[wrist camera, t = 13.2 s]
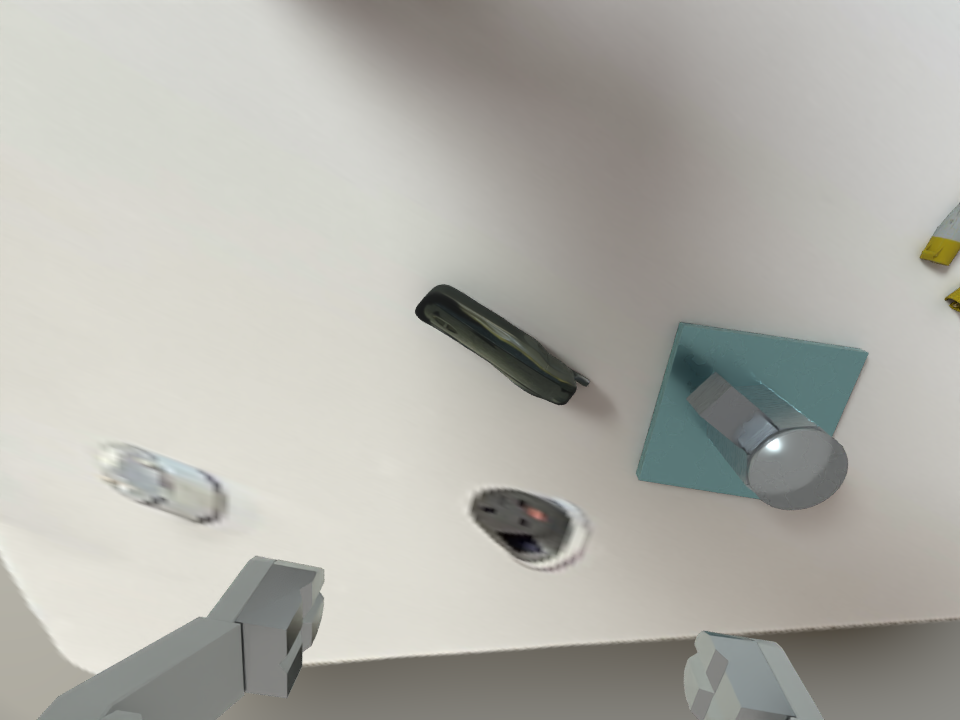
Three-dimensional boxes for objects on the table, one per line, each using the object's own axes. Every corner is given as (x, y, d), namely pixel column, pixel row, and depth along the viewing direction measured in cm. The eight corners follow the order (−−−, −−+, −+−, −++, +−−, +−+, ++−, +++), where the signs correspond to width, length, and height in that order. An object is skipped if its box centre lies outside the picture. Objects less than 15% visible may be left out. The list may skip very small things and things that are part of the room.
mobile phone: (406, 320, 34) (579, 427, 35) (427, 285, 33) (603, 396, 34) (421, 306, 38) (573, 401, 40) (440, 275, 38) (595, 373, 39)
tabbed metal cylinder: (657, 396, 38) (690, 443, 31) (714, 341, 36) (763, 377, 29) (742, 465, 39) (792, 525, 32) (801, 416, 38) (868, 467, 30)
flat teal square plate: (679, 322, 37) (712, 347, 31) (859, 348, 36) (928, 379, 30) (636, 473, 42) (656, 521, 35) (794, 498, 41) (843, 551, 35)
